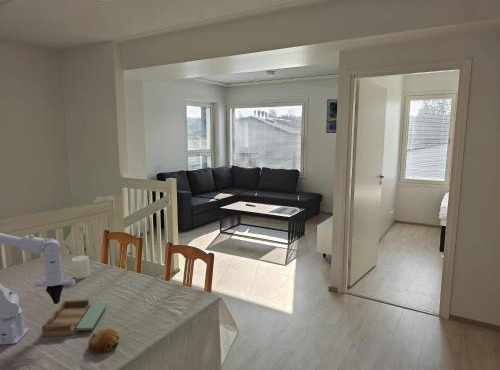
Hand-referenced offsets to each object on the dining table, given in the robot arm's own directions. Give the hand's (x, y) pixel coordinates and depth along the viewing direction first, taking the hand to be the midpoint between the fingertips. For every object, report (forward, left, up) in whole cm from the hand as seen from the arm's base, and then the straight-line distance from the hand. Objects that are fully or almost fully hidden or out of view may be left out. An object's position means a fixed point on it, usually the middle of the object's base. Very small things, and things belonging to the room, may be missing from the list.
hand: (56, 302), depth 137 cm
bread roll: (-16, -22, -10) cm, 29 cm away
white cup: (+47, +8, -10) cm, 49 cm away
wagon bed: (+2, -3, -9) cm, 10 cm away
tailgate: (+2, -9, -7) cm, 12 cm away
